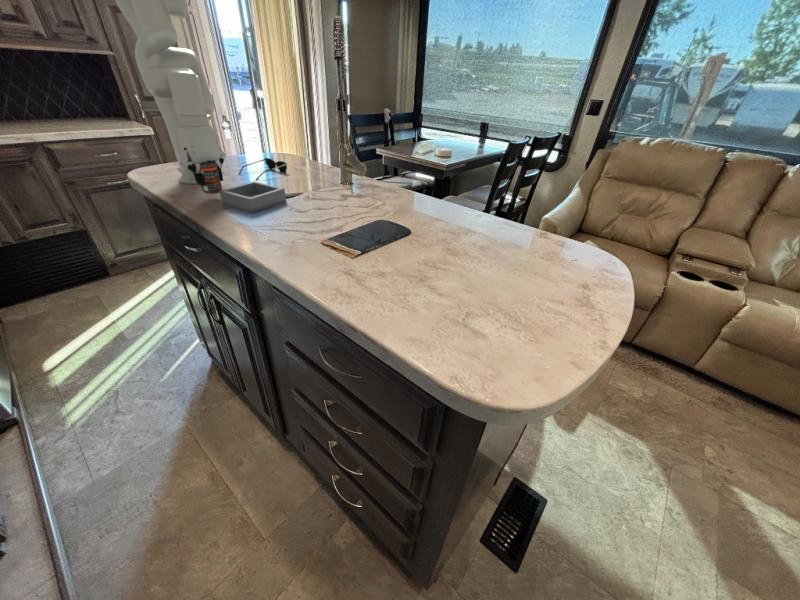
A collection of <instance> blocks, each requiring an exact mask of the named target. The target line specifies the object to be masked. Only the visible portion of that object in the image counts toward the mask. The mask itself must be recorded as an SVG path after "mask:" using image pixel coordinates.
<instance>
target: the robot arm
mask: <svg viewBox="0 0 800 600" xmlns="http://www.w3.org/2000/svg"><path fill="white" fill-rule="evenodd" d="M115 3H116V5H117V7H118V8H119V11H120V12H121V13H122V15H123V17H124V18H125V20H127V22H128V23H129V25H130V27H131V29H132V30H133V32H134V35H136V38H137V40H136V43H135V48H134V56H135V58H134V59H135V62H136V65H137V68H138V70H139V73H140V75H141V78H142V81H143V83H144V85H145V87H146V89H147V91H148V92H149V93H150V94H151V95H152V96H153V99H154V101H155V103H156V105H157V107H158V110H159V112H160V115H161V116H162V118H163V120H164V123H165V126H166V129H167V133H168V135H169V138H170V142H171V145H172V148H173V151H174V155H175V158H176V160H177V163H178V167H177V171H178V172H180V174H181V176H179V177H178V181H179V183H181V184H186V185H187V184H188V185H199V186H205V182H204V178H203V174H202V173H200V163H204V162H207V161H208V160H210V161H213V162H214V163H215V164H216V165H217V169H218V173H219V177H220V182H223V181H224V177H223V172H222V171H223V170H222V168H223V164H224V162H225V160H226V157H227V153H226V152H225V151H223V150H222V149H221V148H220V145H219V142H218V139H217V137H216V134H215V132H214V129H213V127H212V125H211V124H210V122H209V121H211V120H212V119H211V116H210V115H212V114H213V112H214V110H215V106H214V105H215V104H214V100H213V97H212V94H211V92H210V88H209V84H208V82H207V80H206V77H205V73H204V70H203V66H202V65H201V62H200V60H199V57H198V56H197V54H196V53H195V52H194V51H193V50H191V49H188V48H186V47H185V48H184V47H175V44H176V42H178V41H177V40H178V34H177V31H176V29H175V26H174V23H173V22H172V19H171V18H172V17H173V18H180V19H185V18H187V17H188V14H189V13H188V12H189V10H188V9H189V7H188V4H187V3H188V2H187V0H115ZM173 46H174V47H173Z"/></svg>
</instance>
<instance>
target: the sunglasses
mask: <svg viewBox="0 0 800 600" xmlns="http://www.w3.org/2000/svg"><path fill="white" fill-rule="evenodd" d="M264 161H265V165H267V168H268V170H265V171H263V172H262V173H260V175H259V176H257V178H256V179H255V181H259V178H260V177H262V175H264V174H265V173H267V172H269V171H275V169H278V170H279V172H280V173H283V172H284V174H286V173H287V170H288V163H287V162H285V161H282V160H280V161H275V160H273V159H272V158H264V159H260V160H258V161H255V162H251V163H248V164H245V165H243V166H242V167H241V169H240V170H239V173H238V175H240V176H241V173H242V171H243V169H244V168H245V167H248V166H251V165H254V164H257V163H259V162H264Z"/></svg>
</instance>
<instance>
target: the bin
mask: <svg viewBox="0 0 800 600" xmlns="http://www.w3.org/2000/svg"><path fill="white" fill-rule="evenodd" d="M219 192H220V193H219V195H220V199H221V203H222V205H223V206H226V207H228V208H229V207H230V208H233V209H236V210H240V211H243V212H248V213H249V214H257V213H259V212H262V211H265V210H268V209H270V207H271V208H272V207H276V206H279V205H281V203H282V204H285V203H287V198H286V192H285V188H284V187H280V186H275V185H271V184H267V183H263V182H259V181H256V180H254V181H250V182H247V183H244V184H239V185H236V186H232V187H228V188H225V189H222V190H220V191H219ZM278 204H279V205H278ZM275 205H276V206H275Z"/></svg>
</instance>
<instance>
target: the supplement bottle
mask: <svg viewBox="0 0 800 600" xmlns="http://www.w3.org/2000/svg"><path fill="white" fill-rule="evenodd" d="M200 173H202V174H203V178H204V182H205V186H201V185H200V186H201V190H202V192H203V193H204V194H208V195H209V194H210V195H214V194H220V192H219V191H220V190H223V187H222V183H221V182H222V181H220V177H219V173H218V169H217V165H216V164H215V163H214V162H213V161H210V160H208V161H207V162H204V163H200Z"/></svg>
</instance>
